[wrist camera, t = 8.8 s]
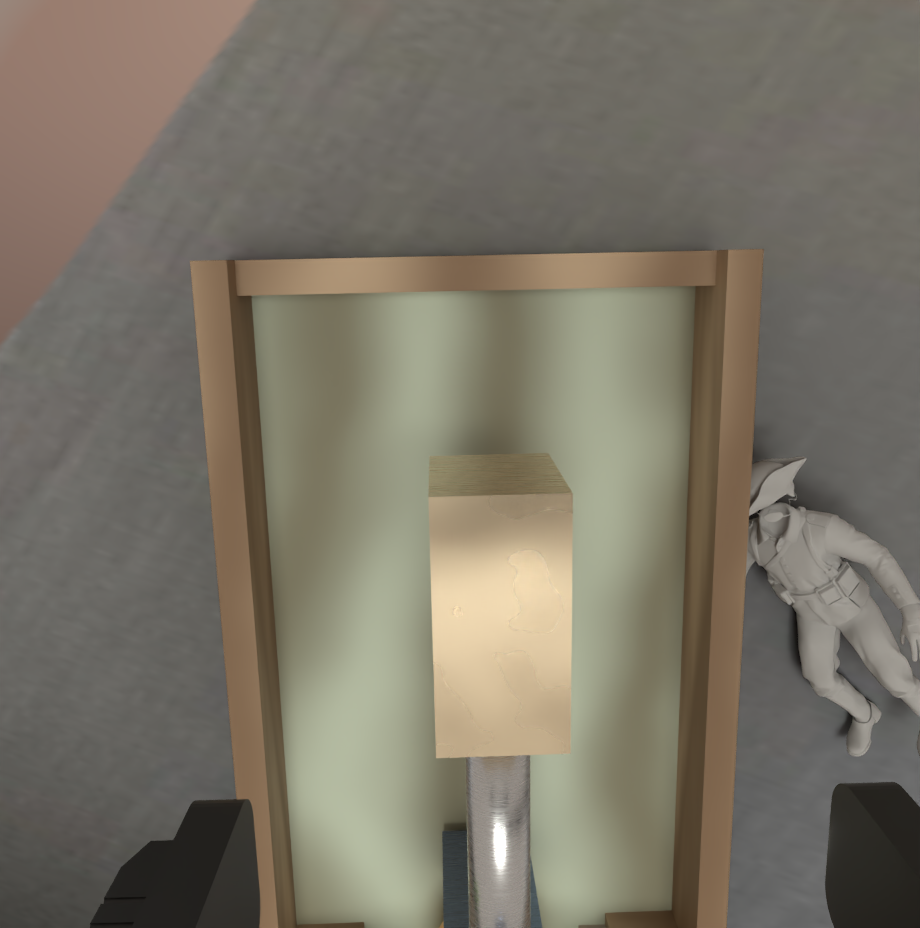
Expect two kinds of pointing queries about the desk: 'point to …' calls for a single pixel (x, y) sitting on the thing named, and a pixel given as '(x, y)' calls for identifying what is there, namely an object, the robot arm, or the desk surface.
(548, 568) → the foosball rod
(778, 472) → the soldier figure
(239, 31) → the desk surface
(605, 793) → the pitch
